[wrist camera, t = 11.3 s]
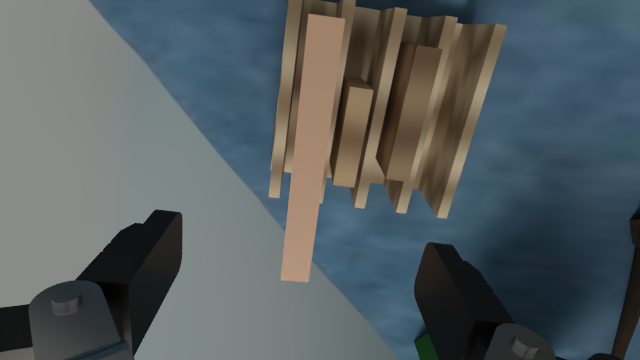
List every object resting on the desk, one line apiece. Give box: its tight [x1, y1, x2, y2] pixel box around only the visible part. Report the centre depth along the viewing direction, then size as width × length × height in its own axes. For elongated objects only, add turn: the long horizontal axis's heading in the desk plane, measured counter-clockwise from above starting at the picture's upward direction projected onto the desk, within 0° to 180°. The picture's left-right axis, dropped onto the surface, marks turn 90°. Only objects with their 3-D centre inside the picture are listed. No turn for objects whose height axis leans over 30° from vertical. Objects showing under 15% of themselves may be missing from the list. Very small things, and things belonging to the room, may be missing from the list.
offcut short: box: [329, 75, 374, 187], centre depth 36 cm, size 9×2×8 cm, turn 172°
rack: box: [269, 0, 507, 219], centre depth 37 cm, size 18×19×8 cm
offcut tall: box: [376, 42, 443, 182], centre depth 35 cm, size 11×2×10 cm, turn 172°
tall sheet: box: [281, 14, 345, 282], centre depth 29 cm, size 14×2×22 cm, turn 173°
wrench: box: [611, 216, 640, 359], centre depth 51 cm, size 5×5×30 cm
